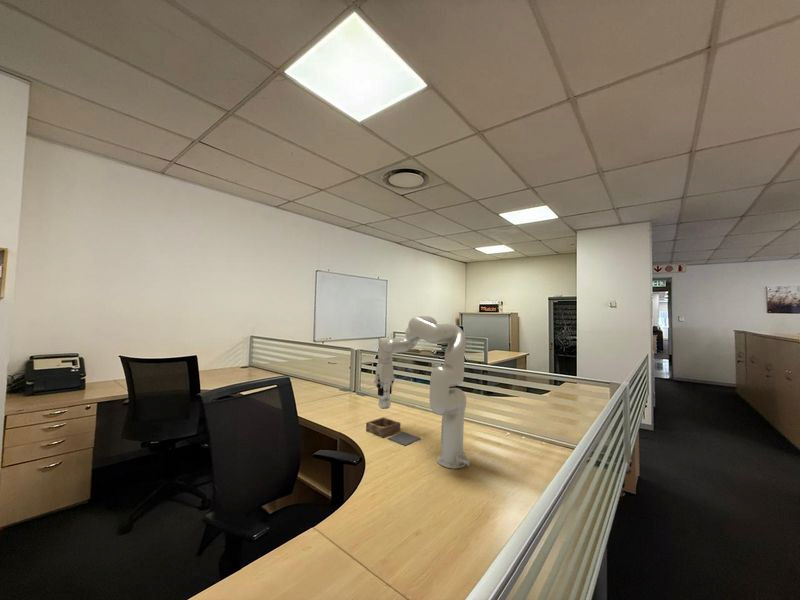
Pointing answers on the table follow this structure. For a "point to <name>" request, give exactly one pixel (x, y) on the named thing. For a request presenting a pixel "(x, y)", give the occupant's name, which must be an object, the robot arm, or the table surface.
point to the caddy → (378, 424)
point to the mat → (404, 438)
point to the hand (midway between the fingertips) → (384, 394)
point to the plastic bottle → (385, 395)
